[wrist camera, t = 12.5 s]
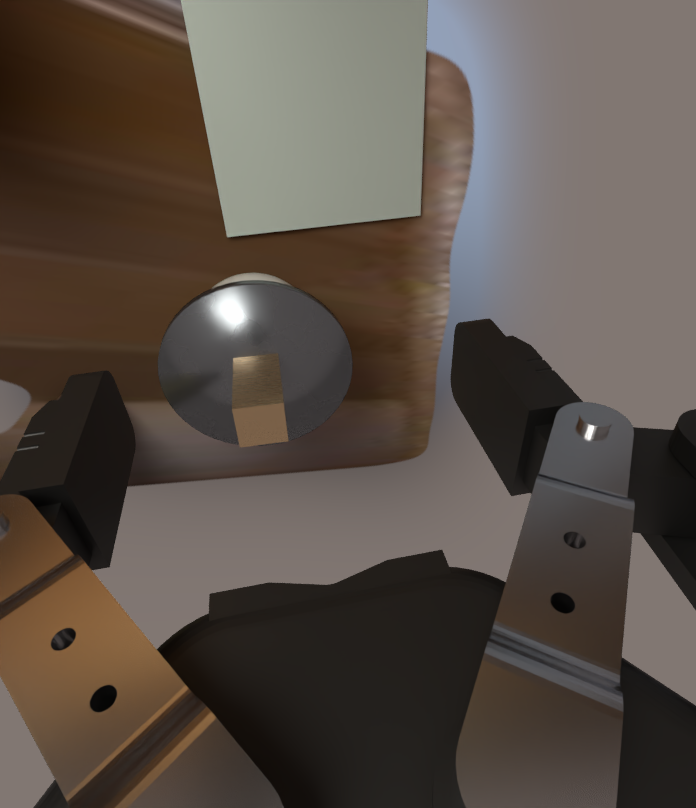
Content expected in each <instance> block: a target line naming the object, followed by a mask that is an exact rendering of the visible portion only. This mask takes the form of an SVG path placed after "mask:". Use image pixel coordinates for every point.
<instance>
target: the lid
mask: <svg viewBox="0 0 696 808" xmlns="http://www.w3.org/2000/svg"><path fill="white" fill-rule="evenodd" d="M158 375H159V379H160V384H161V387H162V390H163V392H164V395H165V397H166V398H167V400H168V402H169V404H170V405H171V406H172V408H173V409H174V410H175V412H176V413H177V414H178V415H179V416H180V417H181V418H182V419H183V420H184V421H185V422H187V423H188V424H189V425H191V426H192V427H193V428H195V429H196V430H198V431H200V432H201V433H203V434H205V435H208V436H210V437H212V438H214V439H217V440H220V441H223V442H227V443H232V444H237V445H240V447H248V446H263V445H273V444H278V443H283V442H286V441H290V440H293V439H295V438H298V437H301V436H303V435H305V434H307V433H309V432H311V431H312V430H314V429H315V428H317V427H318V426H320V425H321V424H322V423H323V422H325V421H326V420H327V419H328V418H329V417H330V416H331V415H332V414H333V413H334V412H335V411H336V409H337V408H338V407H339V405H340V404H341V402H342V401H343V399H344V397H345V395H346V393H347V390H348V388H349V385H350V381H351V376H352V354H351V350H350V346H349V342H348V339H347V337H346V334H345V332H344V330H343V327H342V326H341V324H340V323H339V321H338V319H337V318H336V317H335V316H334V314H333V313H332V312H331V311H330V310H329V309H328V308H327V307H326V306H325V305H324V304H323V303H322V302H320V301H319V300H318V299H316V298H315V297H313V296H312V295H310V294H308V293H306V292H304V291H302V290H300V289H298V288H295V287H292V286H290V285H287V284H283V283H278V282H274V281H265V280H244V281H237V282H231V283H227V284H224V285H220V286H217V287H215V288H212V289H210V290H208V291H205V292H203V293H202V294H200V295H198V296H197V297H195V298H193V299H192V300H191V301H190V302H189V303H187V304H186V305H185V306H184V307H183V308H182V309H181V310H180V311H179V312H178V313H177V314H176V315H175V317H174V318H173V320H172V321H171V322H170V324H169V325H168V328H167V330H166V332H165V334H164V336H163V340H162V343H161V347H160V351H159V358H158Z"/></svg>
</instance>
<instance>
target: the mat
mask: <svg viewBox="0 0 696 808" xmlns="http://www.w3.org/2000/svg"><path fill="white" fill-rule="evenodd" d="M181 4H182V9H183V14H184V19H185V24H186V29H187V34H188V39H189V44H190V49H191V55H192V60H193V65H194V70H195V75H196V80H197V85H198V90H199V95H200V101H201V106H202V111H203V116H204V121H205V126H206V131H207V136H208V141H209V146H210V152H211V157H212V162H213V167H214V172H215V177H216V182H217V187H218V192H219V197H220V203H221V208H222V213H223V218H224V223H225V228H226V233H227V237H234V236H243V235H251V234H260V233H269V232H278V231H287V230H296V229H305V228H314V227H323V226H332V225H340V224H349V223H358V222H367V221H376V220H385V219H394V218H403V217H412V216H421V187H422V157H423V128H424V99H425V70H426V40H427V39H426V38H427V12H428V11H427V9H428V0H181Z"/></svg>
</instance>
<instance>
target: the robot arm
mask: <svg viewBox="0 0 696 808" xmlns="http://www.w3.org/2000/svg"><path fill="white" fill-rule="evenodd" d="M451 388H452V392H453V396H454V399H455V401H456V403H457V405H458V407H459V408H460V410H461V412H462V413H463V415H464V417H465V418H466V420H467V422H468V423H469V425H470V427H471V429H472V430H473V432H474V434H475V435H476V437H477V439H478V440H479V442H480V444H481V446H482V447H483V449H484V451H485V452H486V454H487V455H488V457H489V459H490V461H491V462H492V464H493V465H494V468H495V469H496V471H497V473H498V474H499V476H500V478H501V479H502V481H503V483H504V485H505V486H506V488H507V490H508V491H509V493H510V495H511V496H514V495H519V494H526V493H531V494H532V495H531V499H530V502H529V506H528V509H527V512H526V515H525V519H524V522H523V526H522V529H521V532H520V536H519V539H518V543H517V546H516V550H515V553H514V557H513V560H512V563H511V566H510V570H509V574H508V577H507V580H506V582H504V581H502V580H500V579H498V578H495V577H493V576H490V575H487V574H484V573H481V572H478V571H474V570H469V569H464V568H457V567H449V566H448V563H447V561H446V558H445V556H444V553H443V551H442V550H438V551H433V552H428V553H422V554H417V555H412V556H406V557H401V558H396V559H391V560H387V561H384V562H382V563H380V564H378V565H375V566H373V567H371V568H369V569H367V570H364V571H362V572H360V573H357V574H355V575H353V576H351V577H349V578H347V579H344V580H342V581H340V582H337V583H335V584H331V585H314V584H290V583H265V584H259V585H254V586H249V587H243V588H238V589H233V590H228V591H222V592H217V593H212V594H210V599H209V600H210V601H209V614H207V615H204V616H202V617H200V618H198V619H196V620H195V621H193V622H192V623H190V624H188V625H186V626H185V627H183V628H182V629H181V630H179V631H178V632H176V633H175V634H174V635H172V636H171V637H170V638H169V639H168V640H167V641H165V642H164V643H163V644H162V645H161V646H160V647H159V648H158V649H156V648H155V647H154V646H153V644H152V643H151V642H150V641H149V640H148V638H147V637H146V636H145V635H144V633H143V632H142V631H141V630H140V629H139V627H138V626H137V625H136V624H135V623H134V621H133V620H132V619H131V618H130V616H129V615H128V614H127V613H126V612H125V610H124V609H123V608H122V607H121V605H120V604H119V603H118V602H117V601H116V599H115V598H114V597H113V596H112V594H111V593H110V592H109V591H108V590H107V589H106V587H105V586H104V585H103V584H102V583H101V581H100V580H99V579H98V577H97V576H96V575H95V574H94V573H93V571H92V570H95V569H101V568H107V567H110V562H111V558H112V553H113V549H114V544H115V539H116V535H117V530H118V526H119V521H120V517H121V512H122V508H123V503H124V498H125V494H126V489H127V485H128V480H129V476H130V471H131V467H132V462H133V457H134V453H135V435H134V430H133V426H132V423H131V420H130V418H129V415H128V413H127V410H126V408H125V405H124V403H123V400H122V398H121V395H120V393H119V390H118V388H117V385H116V383H115V380H114V378H113V376H112V375H111V373H110V372H109V371H100V372H92V373H85V374H78V375H72V376H70V377H69V379H68V381H67V383H66V386H65V388H64V390H63V392H62V395H61V397H60V399H59V400H53V401H49V402H48V403H47V404H46V405H45V406H44V407H43V408H42V409H40V410H39V411H38V412H37V413H36V414H35V415H34V416H33V417H32V419H31V421H30V423H29V425H28V427H27V429H26V431H25V433H24V437H22V439H21V441H20V443H19V445H18V447H17V450H18V451H15V453H14V455H13V457H12V459H11V461H10V463H9V465H8V467H7V469H6V471H5V473H4V475H3V477H2V479H1V481H0V677H1V679H2V681H3V683H4V684H5V686H6V688H7V690H8V692H9V693H10V695H11V697H12V699H13V701H14V703H15V705H16V707H17V709H18V710H19V712H20V714H21V716H22V718H23V720H24V721H25V724H26V726H27V727H28V729H29V731H30V733H31V735H32V737H33V739H34V741H35V742H36V744H37V746H38V748H39V750H40V752H41V754H42V756H43V757H44V759H45V761H46V763H47V765H48V767H49V768H50V770H51V772H52V774H53V776H54V778H55V780H54V782H53V783H52V784H51V785H50V787H49V788H48V789H47V791H46V792H45V794H44V795H43V796H42V797H41V799H40V800H39V801H38V802H37V804H36V805H35V806H34V808H696V706H695V705H694V704H692V703H691V702H689V701H688V700H686V699H685V698H683V697H681V696H680V695H679V694H677V693H675V692H674V691H672V690H671V689H669V688H667V687H666V686H664V685H663V684H662V683H660V682H659V681H657V680H655V679H654V678H653V677H651V676H649V675H648V674H646V673H645V672H643V671H642V670H640V669H639V668H637V667H636V666H634V665H633V664H631V663H630V662H628V661H627V660H625V659H624V658H622V647H623V635H624V624H625V612H626V600H627V589H628V578H629V566H630V555H631V544H632V532H634V533H641V535H642V536H643V537H644V539H645V540H646V542H647V543H648V544H649V546H650V547H651V549H652V550H653V551H654V553H655V554H656V555H657V557H658V558H659V560H660V561H661V563H662V564H663V565H664V567H665V568H666V569H667V571H668V572H669V574H670V575H671V576H672V578H673V579H674V581H675V582H676V583H677V585H678V586H679V588H680V589H681V590H682V592H683V593H684V595H685V596H686V597H687V599H688V600H689V601H690V603H691V604H692V605H693V607H694V608H695V610H696V409H695V410H690V411H687V412H685V413H683V414H682V415H681V416H680V417H679V420H678V422H677V424H676V426H675V429H674V430H663V429H648V428H634V427H633V426H632V424H631V423H630V421H629V420H628V419H627V418H626V417H625V416H624V415H622V414H621V413H619V412H618V411H616V410H614V409H612V408H610V407H607V406H604V405H601V404H596V403H589V402H583V401H582V400H581V399H580V398H579V397H578V396H577V395H576V394H575V393H574V392H573V390H572V389H571V388H570V387H569V386H568V385H567V384H566V383H565V382H564V381H563V380H562V379H561V377H560V376H559V375H558V374H557V373H556V372H555V371H552V368H551V367H550V366H549V364H548V363H547V362H546V361H545V360H542V357H541V356H540V355H539V354H538V353H537V351H536V350H535V349H534V348H533V347H532V346H531V345H529V344H527V343H525V342H523V341H522V340H520V339H518V338H516V337H514V336H508V337H506V336H505V335H504V334H503V333H502V331H501V330H500V329H499V328H498V327H497V326H496V325H495V323H494V322H493V321H492V320H490V319H482V320H475V321H468V322H460V323H458V324H457V325H456V328H455V334H454V345H453V358H452V369H451Z"/></svg>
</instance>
